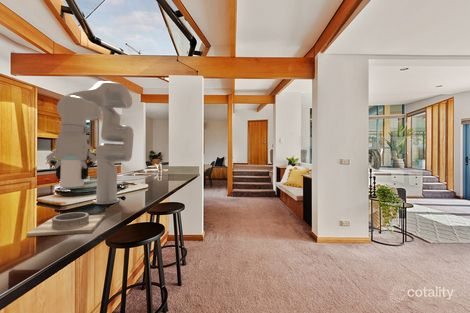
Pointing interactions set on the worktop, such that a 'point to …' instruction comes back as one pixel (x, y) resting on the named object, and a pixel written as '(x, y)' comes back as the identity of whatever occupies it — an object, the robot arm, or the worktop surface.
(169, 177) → the worktop surface
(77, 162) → the can
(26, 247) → the worktop surface
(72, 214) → the base
